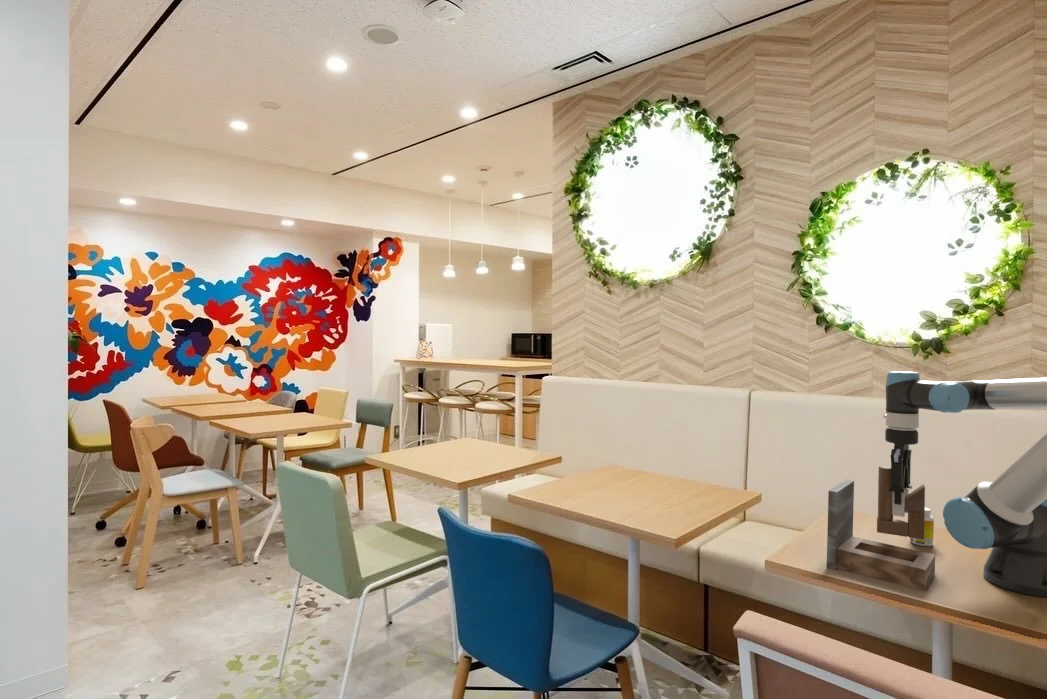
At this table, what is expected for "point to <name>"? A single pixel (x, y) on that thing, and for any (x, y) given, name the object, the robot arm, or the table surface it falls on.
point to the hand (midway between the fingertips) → (900, 513)
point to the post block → (870, 547)
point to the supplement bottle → (926, 530)
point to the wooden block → (912, 505)
